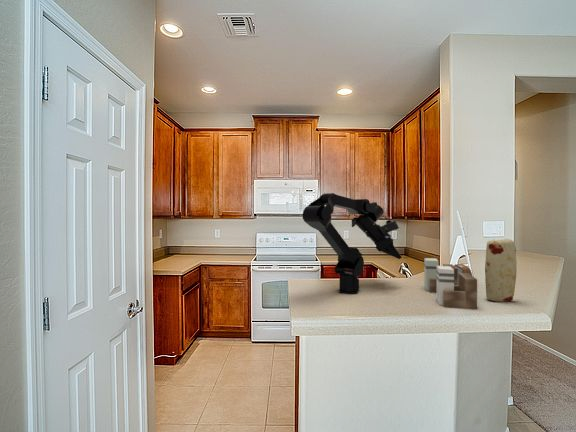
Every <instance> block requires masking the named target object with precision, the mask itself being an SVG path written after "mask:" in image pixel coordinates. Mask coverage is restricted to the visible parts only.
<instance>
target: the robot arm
mask: <svg viewBox="0 0 576 432" xmlns="http://www.w3.org/2000/svg"><path fill="white" fill-rule="evenodd" d="M335 208H338V209H339V208H340V209H343V210H346V211H347V212H348V213H350V214H351V215H358V216H357V217H353V218H352V219H351V227H352V228H354V227H355V226H357V227H358V228H359V230H361V231H362V233H364V234H365V235H366V237H367V238H369V239H370V240H371V242H372V243H374V244H375V248H376V250H377V251H378V252H380V253H381V252H382V253H384V254H387V255H389V256H391V257H394V258H396V259H398V260H400V259H402V255H401V254H400V252H399V251H398V250H397V247H395V245H394V239H393V238H392V237H393V236H392V235H391V234H390V232H393V231H396V230H398V229H400V227H399V225H398V223H397V221H396V220H393V221H392V220H391V219H388V220H386V221H385V224H384V225H380V224H377V222H378V220H380V219H381V218H382V217H383V215H384V212H385V210H384V209H383V208H382V207H381V205H379V204H378V203H377V202H376V201H375V202H373V201H372V202H370V200H369V199H367V198H359V199H354V198H351V197H347V196H343V195H338V194H336V193H334V192H331V193H329V192H328V193H327V192H326V193H322V194H321V195H320V196H319V197H318V198H317V199H315V200H314V201H312V202H310V203H309V204H308V205H307V206H305V207H304V209H303V211H302V219H303V221H304V222H305V224H307V225H308V226H309V227H311V228H313V229H315V230H317V231H318V232H319V234H321V236H322V237H323V238H324V239H325V241H326V242H327V243H328V244H329V246H330V247H331V248H332V249H333V251H334V252H335V254H336V255H337V263H336V265H335V267H334V269H333V270H334V273H335V275H337V274H338V275H339V289H338V290H339V291H338V293H340V294H358V292H359V291H360V278H359V277H360V276H362V274H363V270H364V266H365V259H364V258H363V253H361V252H360V250H359V248H358V247H352V246H351V247H350V246H349V245H348V244H347V243H346V241H345V240H344V239H343V236H341V234H340V233H339V232H338V230H337V229H336V228H335V226H334V224H333V223H332V214H333V213H334V209H335Z"/></svg>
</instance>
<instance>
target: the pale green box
mask: <svg viewBox="0 0 576 432" xmlns="http://www.w3.org/2000/svg"><path fill="white" fill-rule="evenodd" d="M423 261H424V262H423V267H424V270H423V273H424V276H423V277H424V279H423V280H424V281H423V283H424V286H423V287H424V289H425V291H426V292H430V278H431V279H437V278H436V275H437V273H436V270H437V266H440V265H439V262H440V261H439V260H438V259H437V258H435V257H433V258H431V257H430V258H428V257H424V259H423Z"/></svg>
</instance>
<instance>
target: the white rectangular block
mask: <svg viewBox="0 0 576 432" xmlns="http://www.w3.org/2000/svg"><path fill="white" fill-rule="evenodd" d="M436 273H437V275H436V278H437V293H436V301H437V303H438V305H439V306H443V290H449V291H454V269H453V268H451V267H450V266H443V265H439V266H437V270H436Z"/></svg>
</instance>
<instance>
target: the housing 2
mask: <svg viewBox="0 0 576 432" xmlns="http://www.w3.org/2000/svg"><path fill="white" fill-rule="evenodd" d="M442 306H443V307H444V308H451V309H465V310H467V309H468V310H478V278H476V277H474V276H473V274H472V275H470V274H469V273H458V285H454V291H449V290H443V305H442Z"/></svg>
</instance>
